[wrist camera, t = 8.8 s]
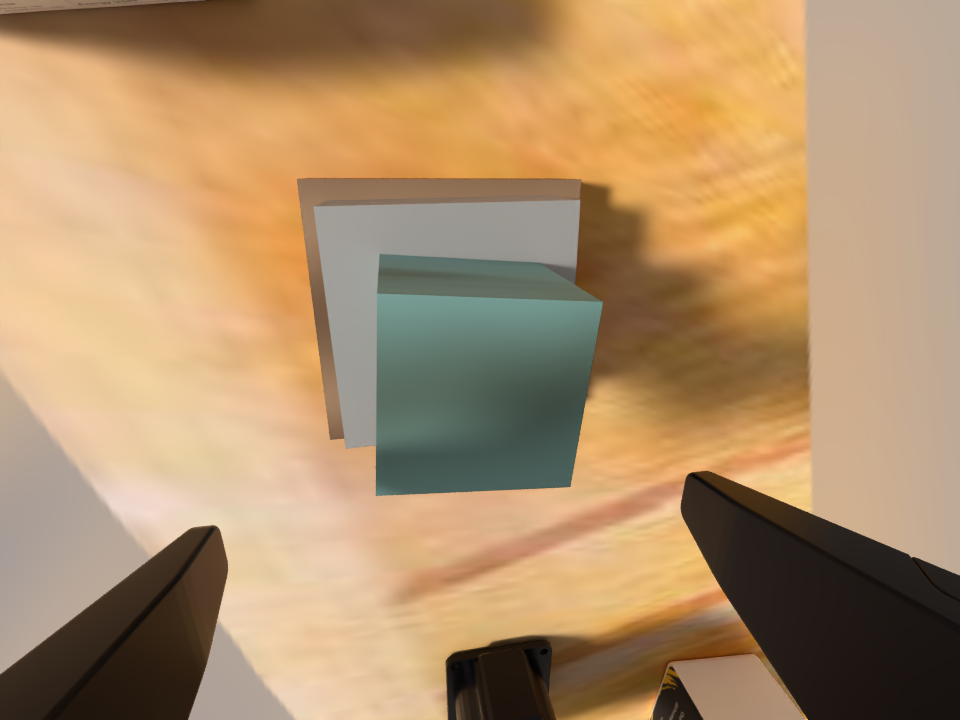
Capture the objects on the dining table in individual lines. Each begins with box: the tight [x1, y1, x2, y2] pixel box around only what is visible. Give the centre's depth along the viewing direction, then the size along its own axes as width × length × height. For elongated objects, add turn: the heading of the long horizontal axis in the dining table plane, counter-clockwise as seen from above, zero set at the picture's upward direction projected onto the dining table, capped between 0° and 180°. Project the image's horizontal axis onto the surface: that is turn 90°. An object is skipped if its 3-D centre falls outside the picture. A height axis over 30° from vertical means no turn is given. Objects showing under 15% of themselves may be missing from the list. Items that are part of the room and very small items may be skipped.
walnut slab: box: [297, 178, 581, 440], centre depth 20 cm, size 10×10×3 cm
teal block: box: [376, 254, 603, 496], centre depth 13 cm, size 5×5×5 cm
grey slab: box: [313, 196, 580, 449], centre depth 17 cm, size 8×8×3 cm
